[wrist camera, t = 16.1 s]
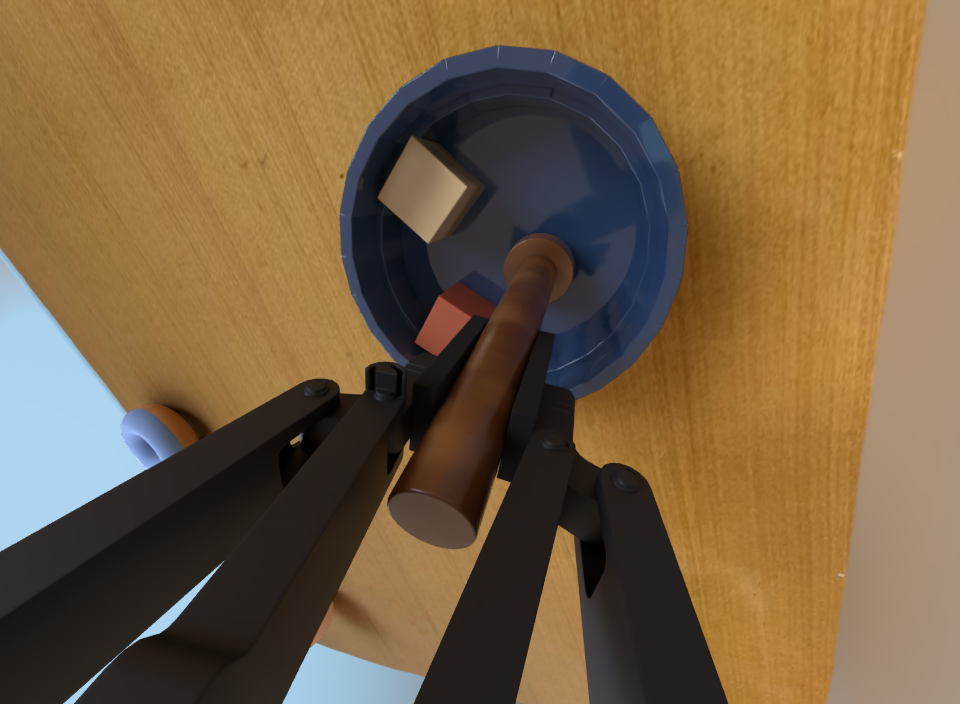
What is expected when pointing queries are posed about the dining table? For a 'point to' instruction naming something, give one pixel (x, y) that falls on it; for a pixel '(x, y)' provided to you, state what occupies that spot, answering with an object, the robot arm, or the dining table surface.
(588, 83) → the bowl
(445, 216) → the birch block
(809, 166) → the dining table surface
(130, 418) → the doughnut
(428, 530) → the muddler
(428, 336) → the terracotta block
